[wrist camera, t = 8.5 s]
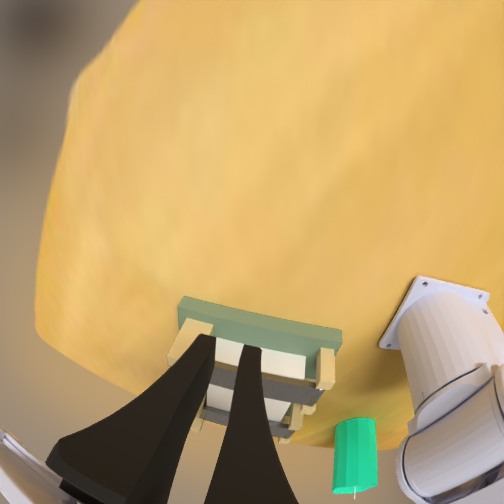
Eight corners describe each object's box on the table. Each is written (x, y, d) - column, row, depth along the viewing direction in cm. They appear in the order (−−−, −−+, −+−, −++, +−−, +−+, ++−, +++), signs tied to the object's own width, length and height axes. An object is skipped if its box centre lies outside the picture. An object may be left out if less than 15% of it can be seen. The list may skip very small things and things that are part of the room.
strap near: (326, 383, 20) (326, 390, 19) (315, 400, 21) (314, 407, 21) (191, 352, 21) (187, 359, 20) (191, 371, 22) (189, 378, 22)
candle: (345, 436, 33) (343, 503, 23) (327, 425, 31) (322, 500, 21) (381, 425, 30) (383, 496, 20) (366, 413, 29) (368, 493, 18)
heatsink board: (341, 329, 22) (345, 386, 17) (293, 414, 31) (288, 453, 25) (184, 295, 23) (155, 344, 18) (189, 391, 32) (174, 428, 27)
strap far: (297, 424, 24) (296, 430, 24) (290, 434, 26) (289, 439, 25) (193, 400, 25) (191, 406, 25) (194, 411, 27) (192, 416, 26)
